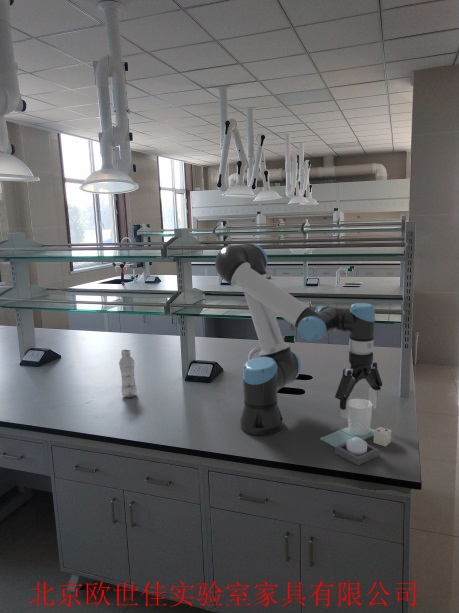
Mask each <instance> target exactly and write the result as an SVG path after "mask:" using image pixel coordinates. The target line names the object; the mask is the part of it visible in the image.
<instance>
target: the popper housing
mask: <svg viewBox="0 0 459 613" xmlns="http://www.w3.org/2000/svg"><path fill="white" fill-rule="evenodd" d="M334 452H335V454H336V455H338V456H340V457H342V458H344V459H346V460H348V461H349V462H351V463H353V464H355V465H356V466H361V465H363V464H364V463H365V464H366V462H368V461H371V460H372V459H375V458H376V457H379V454H380V452H379V449H378V448H377V447H374V446H372V445H370V444H368V443H367V453H365V454H363V455H361V456H356V455H354V454H352V453H350V452H348V451H347V442H345V443H343V444H341V445H338V446H336V447H334Z"/></svg>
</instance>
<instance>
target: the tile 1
mask: <svg viewBox="0 0 459 613" xmlns="http://www.w3.org/2000/svg"><path fill="white" fill-rule="evenodd" d="M340 430H341V429H339V430H337V431H335V432H332V433H329V434H327V435H324V436H322V437H320V438H319V440H321V441H323V442H325V443H326V444H328V445H330V446H332V447H334V448H335V447H336V446H338V445H341V444H343V443H345V442H347V441H348V440H349V439H352V438H354V437H352V436H350V435H348V434H346V433H344V432H342V431H340Z"/></svg>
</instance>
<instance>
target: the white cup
mask: <svg viewBox="0 0 459 613" xmlns="http://www.w3.org/2000/svg"><path fill="white" fill-rule="evenodd" d="M348 400H349V418H348V419H347V423H348V427H349V432H350V433H351V434H354V435H358V436H365V435H368V434H369V433H370V428H371V425H372V424H371V423H372V411H373V408H372V403H371V402H370V401H368V399H363V398H352V399H348Z"/></svg>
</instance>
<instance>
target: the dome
mask: <svg viewBox="0 0 459 613" xmlns="http://www.w3.org/2000/svg"><path fill="white" fill-rule="evenodd" d="M367 444H368V443H367V441H365V440H362V439H361V438H358V437H354V438H352V439H349V440H348V441H347V450H346V451H348V452H350V453H352V454H354V455H356V456H361V455H363V454H365V453H367Z"/></svg>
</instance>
